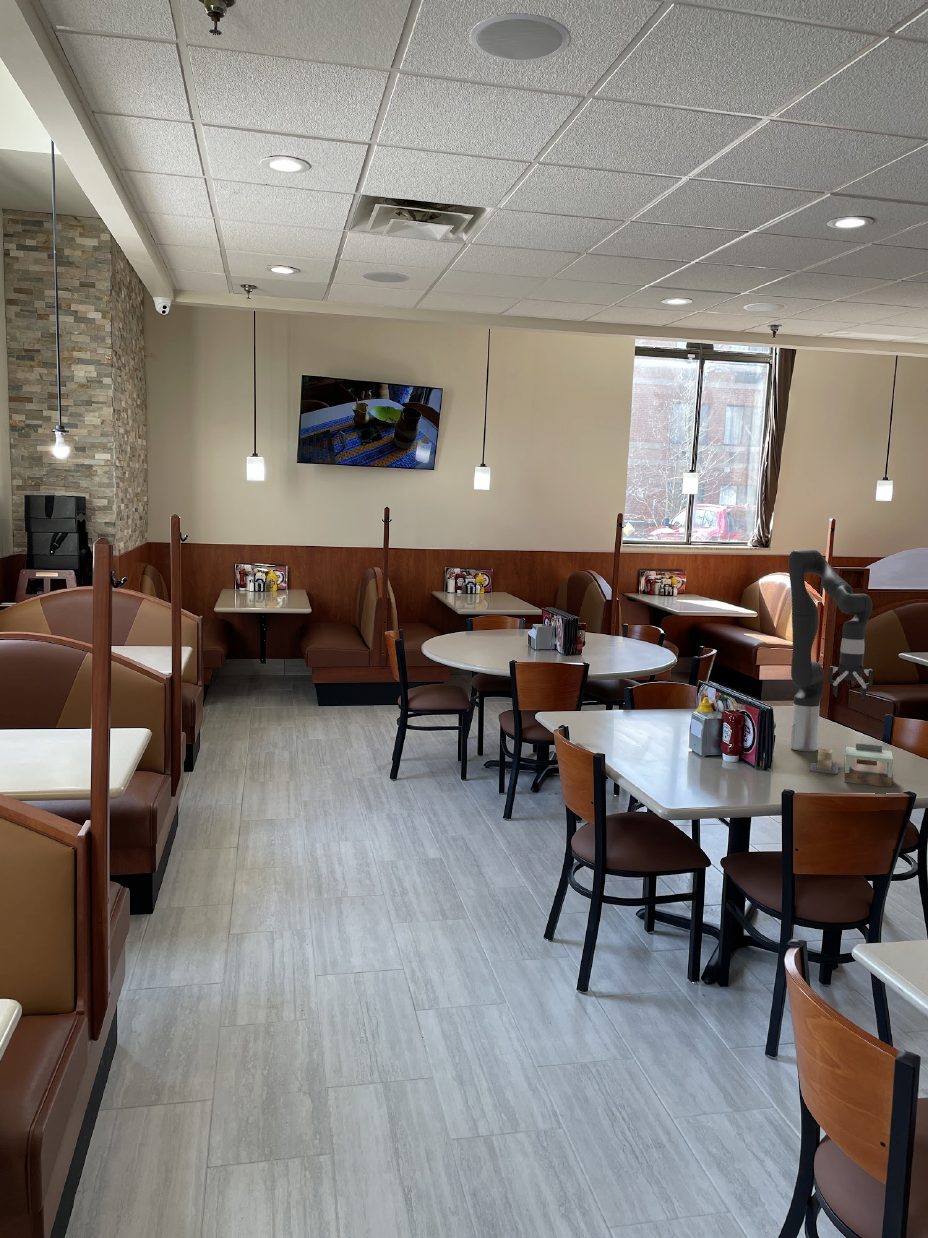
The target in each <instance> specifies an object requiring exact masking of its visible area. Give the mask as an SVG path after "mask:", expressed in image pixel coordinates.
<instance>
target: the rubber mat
mask: <svg viewBox="0 0 928 1238" xmlns="http://www.w3.org/2000/svg"><path fill="white" fill-rule="evenodd" d="M809 772H813V773H823V774H829V775H830V774H831V775H832V774H833V775H839V765H834V764H831V770H825V769H817V763H815V762H810V768H809Z"/></svg>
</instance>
